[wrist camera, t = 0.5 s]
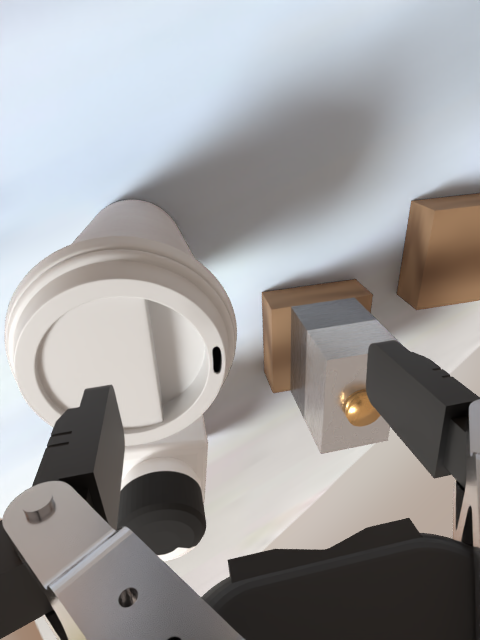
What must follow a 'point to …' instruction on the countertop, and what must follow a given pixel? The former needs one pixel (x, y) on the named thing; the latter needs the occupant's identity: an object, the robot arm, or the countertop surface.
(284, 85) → the countertop surface
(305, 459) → the countertop surface
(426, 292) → the stand
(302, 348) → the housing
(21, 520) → the robot arm
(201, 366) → the coffee cup
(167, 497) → the medicine bottle
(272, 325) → the stand
